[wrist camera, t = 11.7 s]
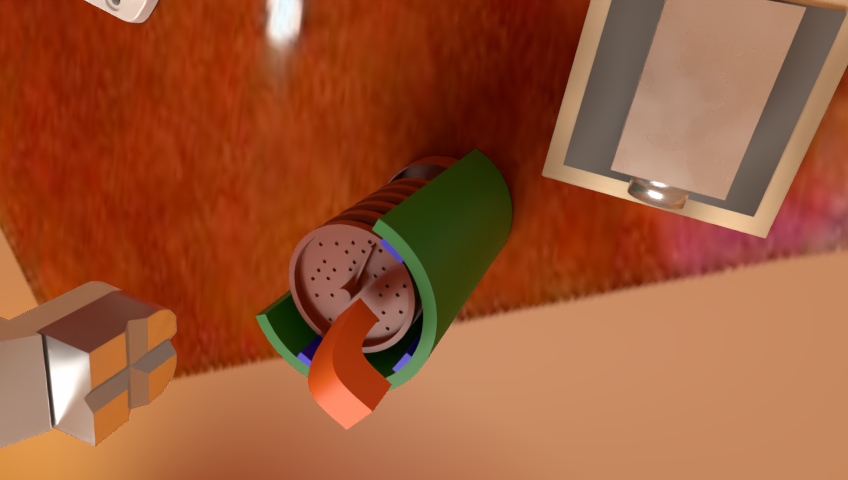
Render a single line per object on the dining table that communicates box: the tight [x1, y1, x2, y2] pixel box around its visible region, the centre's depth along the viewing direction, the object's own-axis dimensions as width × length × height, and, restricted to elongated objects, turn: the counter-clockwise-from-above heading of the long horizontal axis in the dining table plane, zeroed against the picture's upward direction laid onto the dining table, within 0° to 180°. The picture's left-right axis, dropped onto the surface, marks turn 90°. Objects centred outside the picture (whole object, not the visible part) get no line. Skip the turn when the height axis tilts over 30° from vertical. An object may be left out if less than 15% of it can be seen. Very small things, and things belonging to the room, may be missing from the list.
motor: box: [256, 148, 512, 429], centre depth 33 cm, size 10×9×20 cm
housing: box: [611, 0, 806, 209], centre depth 27 cm, size 9×5×5 cm, turn 169°
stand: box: [542, 0, 848, 238], centre depth 32 cm, size 12×12×5 cm
